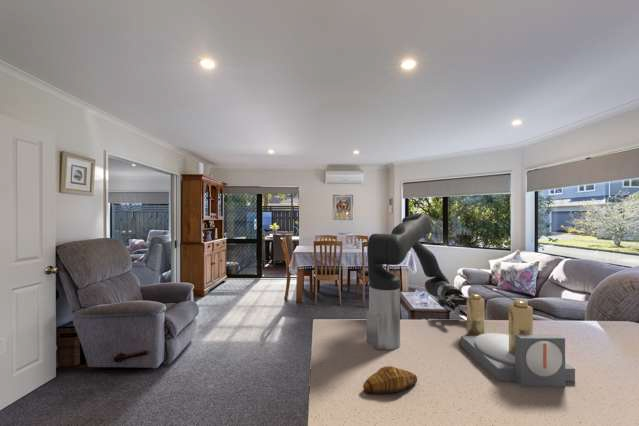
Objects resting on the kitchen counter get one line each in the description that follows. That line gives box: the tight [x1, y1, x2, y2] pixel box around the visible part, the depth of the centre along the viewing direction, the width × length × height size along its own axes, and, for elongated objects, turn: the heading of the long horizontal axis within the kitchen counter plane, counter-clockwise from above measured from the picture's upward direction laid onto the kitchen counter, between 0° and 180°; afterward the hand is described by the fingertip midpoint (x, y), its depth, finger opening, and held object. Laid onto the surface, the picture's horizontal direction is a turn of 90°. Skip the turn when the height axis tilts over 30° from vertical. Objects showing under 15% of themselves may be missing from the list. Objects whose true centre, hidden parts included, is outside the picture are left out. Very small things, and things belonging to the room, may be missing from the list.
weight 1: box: [466, 293, 485, 336], centre depth 93 cm, size 5×5×13 cm
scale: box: [460, 332, 576, 388], centre depth 75 cm, size 18×21×11 cm
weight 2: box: [508, 299, 534, 356], centre depth 73 cm, size 5×5×13 cm
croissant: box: [362, 365, 418, 395], centre depth 65 cm, size 14×7×5 cm, turn 108°
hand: (466, 307), depth 99 cm, fingers open, 8 cm apart
